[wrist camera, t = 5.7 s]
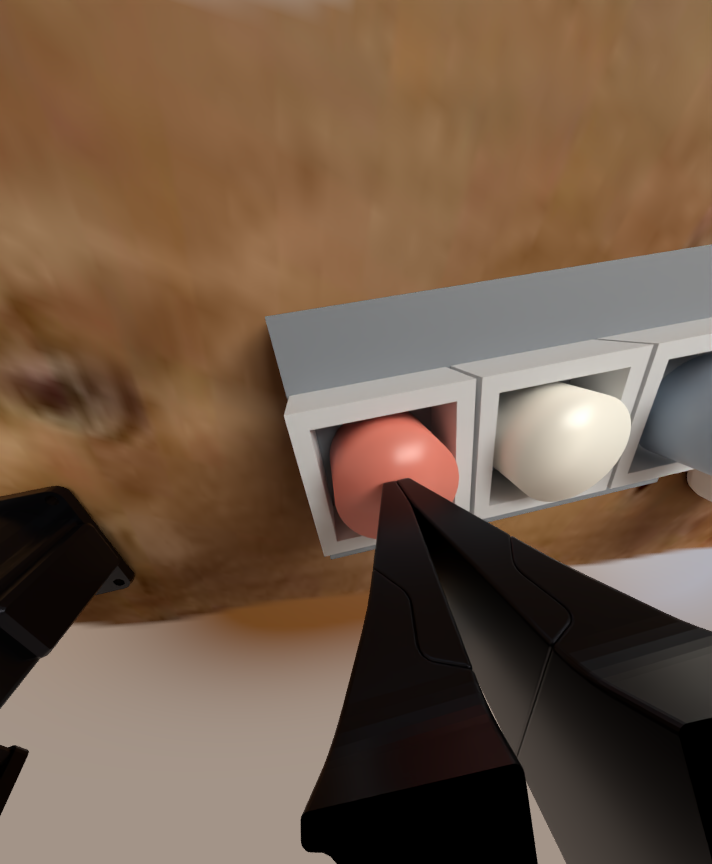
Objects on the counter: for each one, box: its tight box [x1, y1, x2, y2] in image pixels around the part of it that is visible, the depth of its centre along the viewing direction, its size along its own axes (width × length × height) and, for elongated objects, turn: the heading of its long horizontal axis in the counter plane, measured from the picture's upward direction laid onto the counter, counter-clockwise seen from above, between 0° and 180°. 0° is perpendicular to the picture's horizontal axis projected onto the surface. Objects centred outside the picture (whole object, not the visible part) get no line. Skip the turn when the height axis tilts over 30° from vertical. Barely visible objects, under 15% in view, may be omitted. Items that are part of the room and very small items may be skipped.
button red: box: [330, 411, 459, 539], centre depth 9 cm, size 4×4×2 cm
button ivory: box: [493, 381, 631, 502], centre depth 10 cm, size 4×4×2 cm
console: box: [265, 245, 712, 559], centre depth 11 cm, size 18×11×4 cm, turn 99°
